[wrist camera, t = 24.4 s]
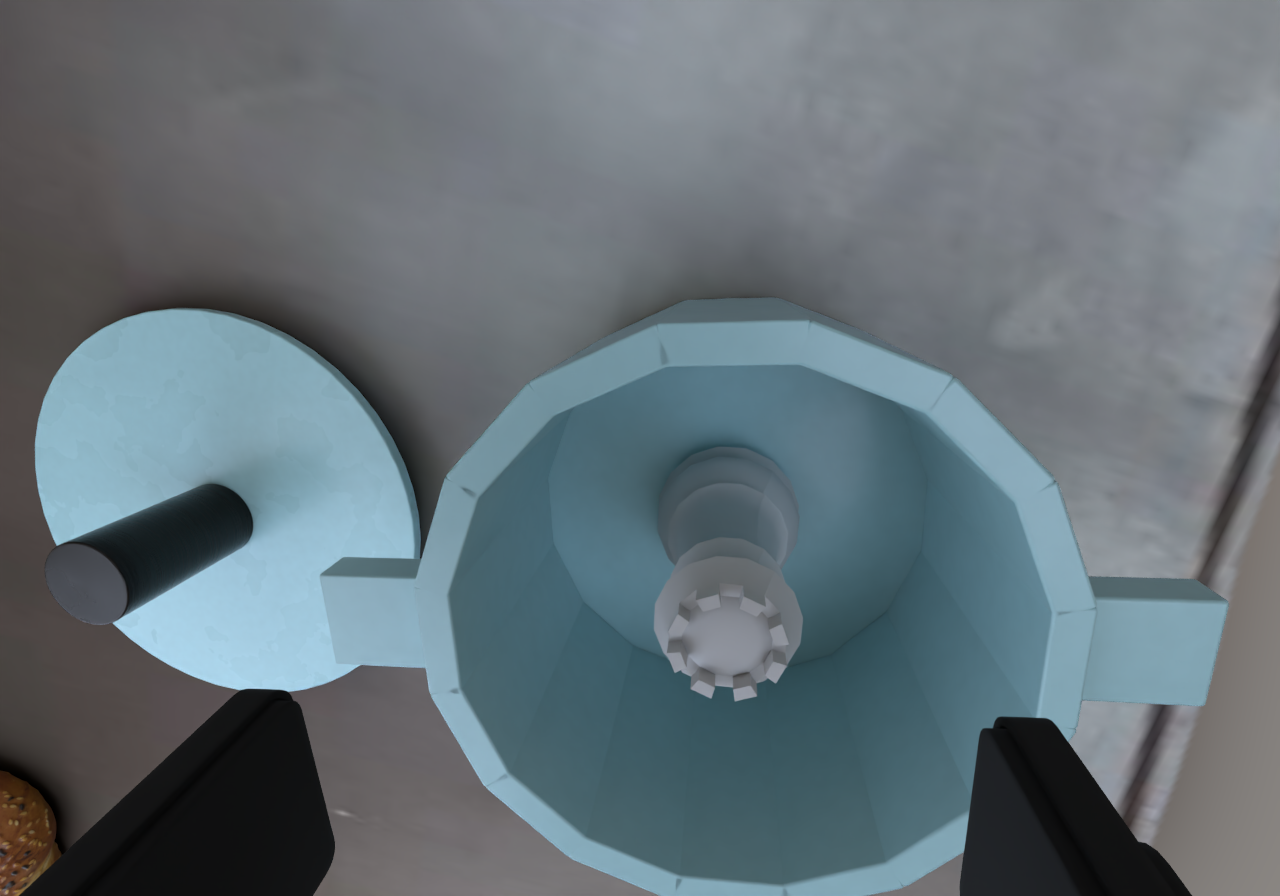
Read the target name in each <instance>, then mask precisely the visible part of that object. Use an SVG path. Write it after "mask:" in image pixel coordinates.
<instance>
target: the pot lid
mask: <svg viewBox="0 0 1280 896" xmlns="http://www.w3.org/2000/svg"><path fill="white" fill-rule="evenodd" d="M35 469H36V477H37V485H38V491H39V495H40V499H41V503H42V507H43V511H44V515H45V518H46V520H47V523H48V526H49V529H50V531H51V534H52V537H53V539H54V541H55V543H56V545H57V546H56V547H55V548H54V549H53V550H52V551H51V552H50V554H49V555H48V557H47V559H46V562H45V578H46V582H47V585H48V588H49V590H50V592H51V594H52V595H53V597H54V598H55V600H56V601H57V602H58V604H59V605H60V606H61V607H62V608H63V609H64V610H65V611H67V612H68V613H69V614H71V615H72V616H74V617H75V618H77V619H79V620H81V621H84V622H86V623H90V624H96V625H104V624H110V623H113V624H114V625H115V626H116V627H117V628H119V629H120V630H121V631H122V632H123V633H124V634H125V635H126V636H128V637H129V638H130V639H131V640H132V641H134V642H135V643H136V644H138V645H139V646H141V647H142V648H143V649H145V650H146V651H147V652H149V653H150V654H152V655H153V656H155V657H157V658H158V659H160V660H162V661H163V662H165V663H167V664H168V665H170V666H172V667H174V668H176V669H178V670H180V671H182V672H185V673H187V674H189V675H191V676H193V677H196V678H199V679H201V680H204V681H207V682H210V683H213V684H216V685H220V686H224V687H228V688H233V689H237V690H244V689H247V688H248V689H275V690H285V691H287V692H290V691H297V690H305V689H308V688H312V687H315V686H319V685H322V684H326V683H328V682H330V681H333V680H335V679H337V678H339V677H341V676H344V675H346V674H347V673H349V672H350V671H352V670H353V669H355V668H356V667H358V666H360V665H353V664H337V663H336V660H335V655H334V650H333V644H332V639H331V634H330V629H329V623H328V618H327V613H326V608H325V602H324V597H323V592H322V587H321V582H320V574H321V573H323V572H324V571H325V570H327V569H328V568H329V567H331V566H332V565H333V564H334V563H336V562H337V561H338V560H340V559H341V558H343V557H367V558H406V559H420V546H421V536H420V523H419V513H418V509H417V504H416V499H415V494H414V489H413V486H412V484H411V481H410V478H409V475H408V472H407V469H406V466H405V463H404V461H403V459H402V457H401V455H400V453H399V451H398V449H397V446H396V444H395V442H394V440H393V438H392V437H391V435H390V433H389V432H388V430H387V429H386V427H385V425H384V424H383V422H382V421H381V419H380V417H379V416H378V414H377V413H376V412H375V410H374V409H373V408H372V407H371V405H370V404H369V403H368V402H367V400H366V399H365V398H364V397H363V395H362V394H361V393H360V391H359V390H358V389H357V388H356V387H355V386H354V385H353V384H352V383H351V382H350V381H349V380H348V379H347V378H346V377H345V376H344V375H343V374H342V373H341V372H340V371H339V370H338V369H337V368H335V367H334V366H333V365H332V364H330V363H329V362H328V361H327V360H325V359H324V358H323V357H322V356H320V355H319V354H318V353H316V352H315V351H314V350H312V349H311V348H309V347H307V346H306V345H304V344H303V343H301V342H299V341H298V340H296V339H295V338H293V337H291V336H290V335H288V334H286V333H284V332H282V331H279V330H277V329H275V328H273V327H271V326H269V325H267V324H265V323H262V322H259V321H256V320H253V319H250V318H247V317H244V316H241V315H238V314H234V313H229V312H223V311H218V310H212V309H200V308H173V309H164V310H155V311H147V312H144V313H140V314H136V315H133V316H129V317H126V318H123V319H121V320H119V321H117V322H114V323H112V324H110V325H108V326H106V327H104V328H102V329H101V330H99V331H98V332H96V333H95V334H94V335H92V336H91V337H89V338H88V339H86V340H85V341H84V342H82V343H81V344H80V345H79V347H78V348H77V349H76V350H75V351H74V352H73V353H72V354H71V355H70V356H69V357H68V358H67V359H66V360H65V362H64V363H63V365H62V366H61V368H60V369H59V370H58V372H57V373H56V375H55V376H54V378H53V380H52V382H51V385H50V387H49V389H48V391H47V393H46V395H45V397H44V401H43V404H42V408H41V411H40V415H39V418H38V425H37V432H36V439H35Z"/></svg>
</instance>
